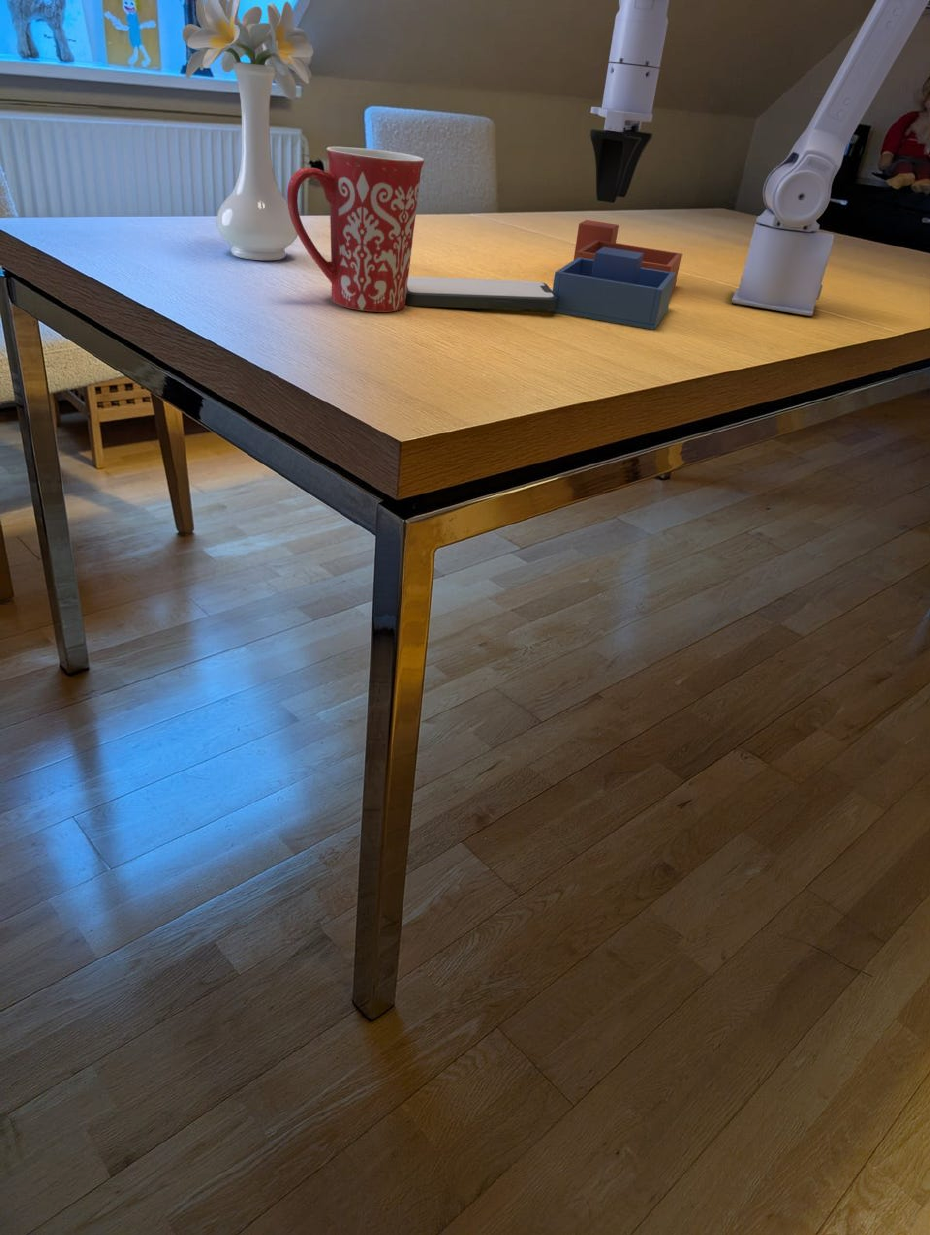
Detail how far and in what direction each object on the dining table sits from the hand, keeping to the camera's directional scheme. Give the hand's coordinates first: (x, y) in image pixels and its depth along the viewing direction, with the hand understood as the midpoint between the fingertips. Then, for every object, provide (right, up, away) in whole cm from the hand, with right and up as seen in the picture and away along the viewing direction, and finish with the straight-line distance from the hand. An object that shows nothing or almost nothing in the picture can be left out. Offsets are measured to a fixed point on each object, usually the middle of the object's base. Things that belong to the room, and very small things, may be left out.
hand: (611, 198), depth 106 cm
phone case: (-16, -17, -12) cm, 26 cm away
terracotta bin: (+2, -9, +3) cm, 10 cm away
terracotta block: (-1, -4, +12) cm, 13 cm away
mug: (-29, -19, -18) cm, 39 cm away
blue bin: (-2, -17, -9) cm, 19 cm away
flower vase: (-42, -8, -2) cm, 43 cm away
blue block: (-2, -16, -9) cm, 19 cm away
